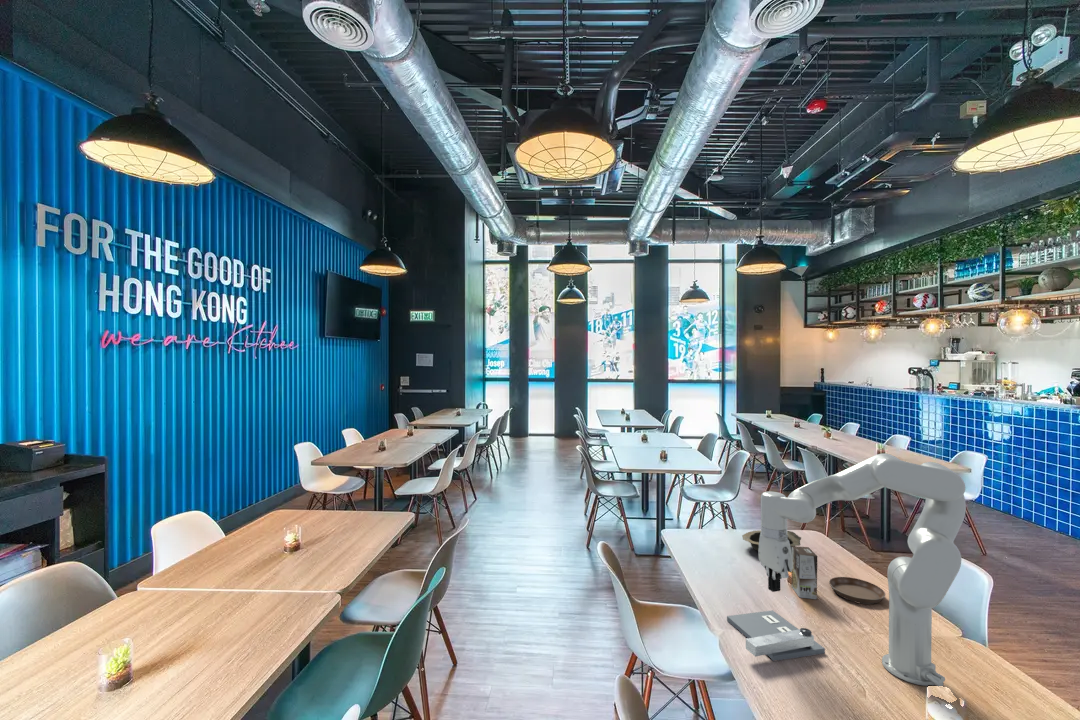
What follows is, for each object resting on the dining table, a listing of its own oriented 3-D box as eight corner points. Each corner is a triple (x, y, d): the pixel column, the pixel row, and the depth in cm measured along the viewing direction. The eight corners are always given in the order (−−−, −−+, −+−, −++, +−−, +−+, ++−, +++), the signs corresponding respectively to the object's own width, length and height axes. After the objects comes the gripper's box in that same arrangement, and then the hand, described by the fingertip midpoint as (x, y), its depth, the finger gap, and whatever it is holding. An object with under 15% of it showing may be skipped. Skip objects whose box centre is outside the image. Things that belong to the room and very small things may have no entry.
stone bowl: (814, 563, 204) (813, 542, 204) (757, 567, 204) (755, 546, 204) (785, 541, 228) (784, 522, 228) (734, 544, 229) (733, 525, 228)
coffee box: (817, 599, 172) (818, 556, 172) (798, 597, 174) (799, 554, 174) (808, 588, 181) (809, 546, 181) (790, 586, 183) (791, 545, 183)
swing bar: (804, 640, 143) (804, 626, 143) (815, 648, 139) (815, 633, 139) (745, 651, 137) (745, 636, 137) (755, 660, 134) (755, 644, 134)
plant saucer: (849, 607, 168) (849, 598, 168) (819, 583, 186) (819, 576, 186) (897, 607, 168) (897, 599, 168) (862, 584, 186) (862, 576, 186)
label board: (824, 653, 140) (824, 647, 140) (773, 661, 136) (773, 654, 136) (772, 614, 162) (772, 609, 162) (726, 620, 157) (727, 615, 157)
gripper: (802, 539, 142) (802, 600, 141) (766, 523, 156) (767, 578, 156) (781, 541, 140) (782, 603, 139) (747, 525, 154) (748, 581, 154)
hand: (774, 590), depth 148 cm, fingers closed
